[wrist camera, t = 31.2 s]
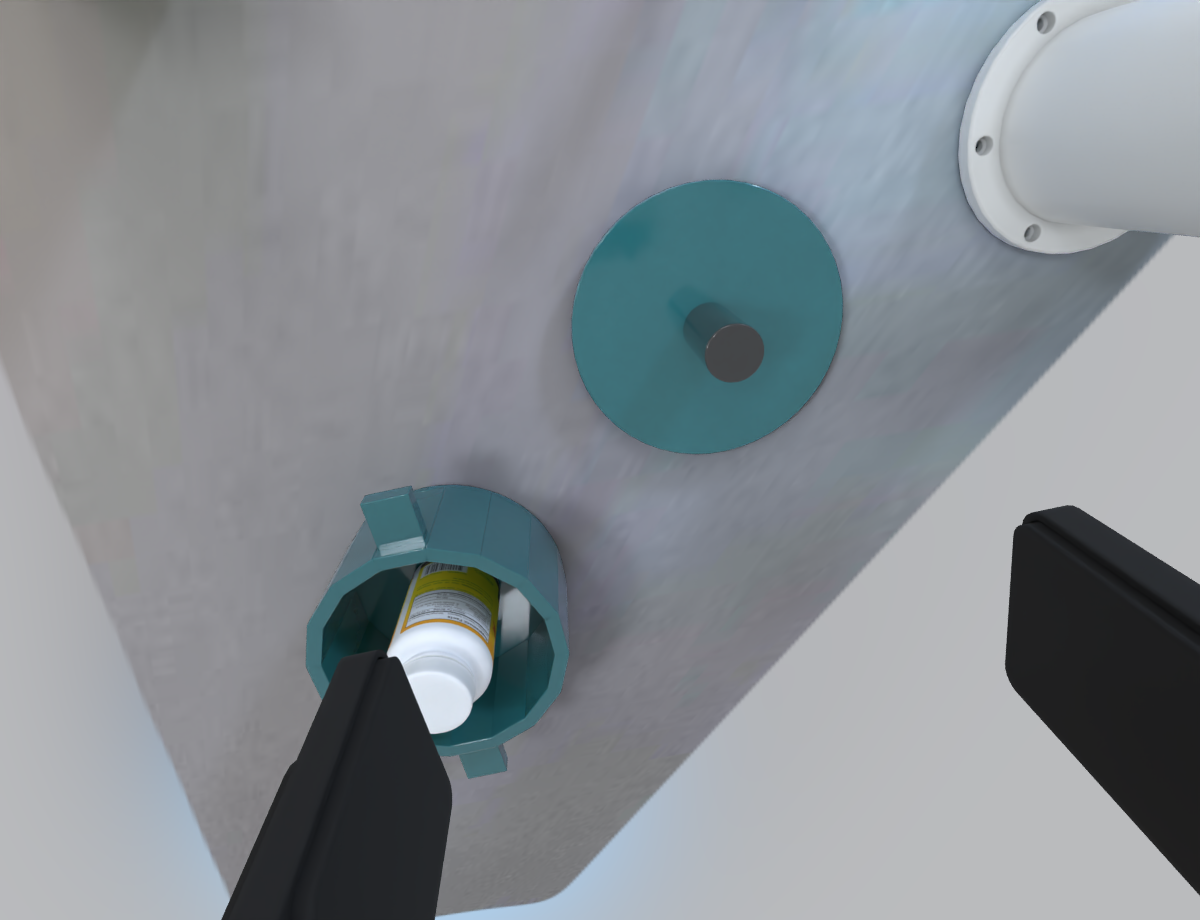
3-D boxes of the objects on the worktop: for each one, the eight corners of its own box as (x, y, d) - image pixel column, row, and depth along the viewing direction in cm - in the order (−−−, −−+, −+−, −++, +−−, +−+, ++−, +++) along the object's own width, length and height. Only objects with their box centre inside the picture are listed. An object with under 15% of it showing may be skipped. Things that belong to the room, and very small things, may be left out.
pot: (525, 421, 38) (520, 476, 31) (591, 673, 46) (599, 762, 39) (296, 470, 38) (241, 535, 32) (400, 713, 46) (374, 808, 39)
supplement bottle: (460, 636, 43) (436, 764, 34) (393, 586, 41) (347, 707, 32) (520, 584, 42) (512, 702, 33) (453, 530, 40) (424, 639, 31)
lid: (826, 151, 34) (888, 146, 28) (841, 418, 40) (894, 463, 33) (543, 213, 34) (542, 222, 28) (600, 469, 40) (609, 523, 34)
